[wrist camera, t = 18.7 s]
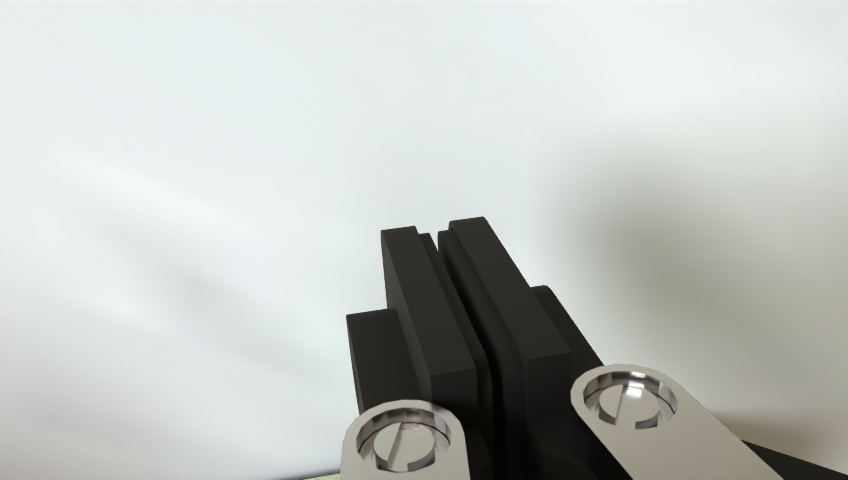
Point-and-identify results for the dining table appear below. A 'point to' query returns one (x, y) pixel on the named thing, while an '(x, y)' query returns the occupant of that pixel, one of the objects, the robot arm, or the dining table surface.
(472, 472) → the robot arm
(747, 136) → the dining table surface
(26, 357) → the dining table surface
